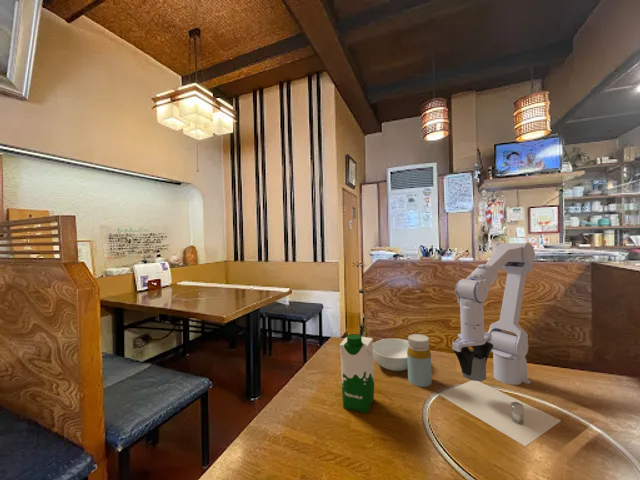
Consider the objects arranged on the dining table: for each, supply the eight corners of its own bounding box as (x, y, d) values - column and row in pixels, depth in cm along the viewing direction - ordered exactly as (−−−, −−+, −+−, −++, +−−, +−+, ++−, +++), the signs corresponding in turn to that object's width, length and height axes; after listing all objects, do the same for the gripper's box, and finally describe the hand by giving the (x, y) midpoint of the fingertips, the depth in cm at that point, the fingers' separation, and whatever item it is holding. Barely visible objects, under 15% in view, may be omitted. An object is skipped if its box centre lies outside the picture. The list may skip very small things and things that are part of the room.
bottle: (434, 391, 81) (432, 342, 81) (409, 389, 83) (408, 341, 82) (429, 379, 88) (427, 333, 88) (407, 378, 90) (405, 333, 89)
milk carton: (339, 409, 75) (336, 337, 75) (349, 391, 83) (347, 327, 83) (370, 416, 71) (367, 341, 71) (377, 397, 79) (375, 330, 79)
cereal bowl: (371, 355, 107) (370, 337, 107) (414, 356, 105) (414, 338, 105) (373, 377, 91) (373, 356, 91) (425, 379, 88) (424, 358, 88)
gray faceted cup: (470, 368, 79) (469, 348, 79) (489, 377, 74) (489, 355, 74) (458, 374, 77) (457, 353, 77) (477, 383, 72) (476, 360, 72)
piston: (515, 416, 67) (514, 400, 67) (526, 422, 65) (525, 406, 65) (509, 419, 66) (509, 403, 66) (520, 425, 64) (520, 409, 64)
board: (474, 382, 85) (473, 379, 85) (561, 425, 65) (561, 420, 65) (439, 398, 78) (439, 394, 78) (525, 451, 58) (525, 446, 58)
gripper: (474, 314, 82) (476, 358, 82) (442, 323, 76) (443, 371, 76) (498, 320, 76) (500, 368, 76) (465, 330, 69) (467, 383, 70)
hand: (473, 370), depth 76 cm, fingers closed on gray faceted cup, 6 cm apart
